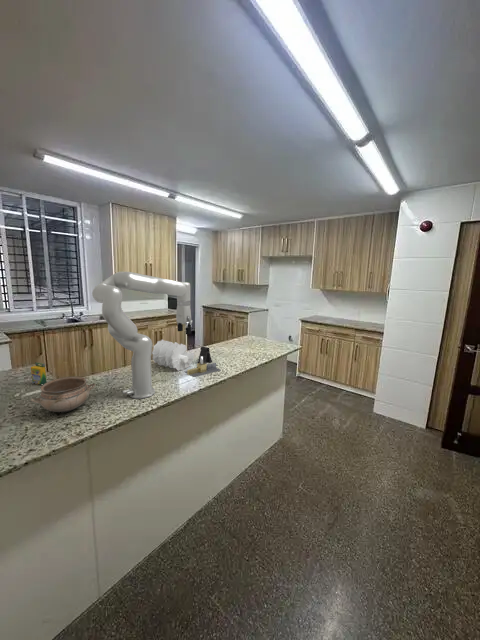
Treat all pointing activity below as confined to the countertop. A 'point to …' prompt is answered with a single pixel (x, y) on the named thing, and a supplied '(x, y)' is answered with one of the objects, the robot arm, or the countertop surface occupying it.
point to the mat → (204, 372)
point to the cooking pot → (64, 394)
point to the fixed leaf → (209, 366)
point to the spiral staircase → (171, 355)
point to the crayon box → (38, 374)
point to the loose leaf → (198, 369)
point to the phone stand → (205, 355)
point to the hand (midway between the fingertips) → (184, 332)
